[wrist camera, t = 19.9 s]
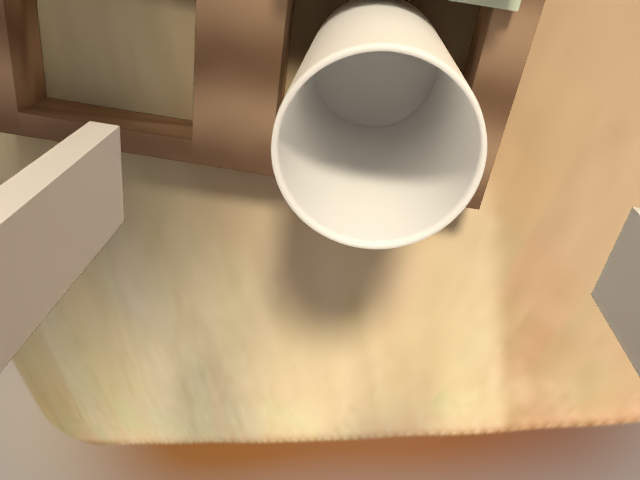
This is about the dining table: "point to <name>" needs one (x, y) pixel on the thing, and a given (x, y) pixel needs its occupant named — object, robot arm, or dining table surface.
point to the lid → (495, 3)
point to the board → (239, 84)
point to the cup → (378, 130)
